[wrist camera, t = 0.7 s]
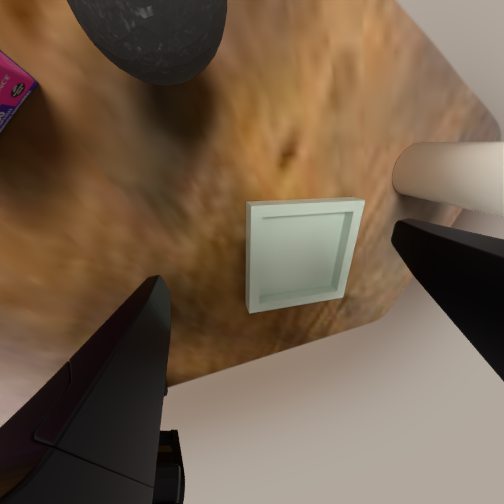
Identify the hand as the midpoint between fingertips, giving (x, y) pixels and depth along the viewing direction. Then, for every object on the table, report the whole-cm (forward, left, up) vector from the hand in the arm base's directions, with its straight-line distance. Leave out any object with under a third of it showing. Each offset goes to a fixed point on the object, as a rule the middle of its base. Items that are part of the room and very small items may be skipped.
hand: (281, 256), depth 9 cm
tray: (-6, -7, -12) cm, 15 cm away
